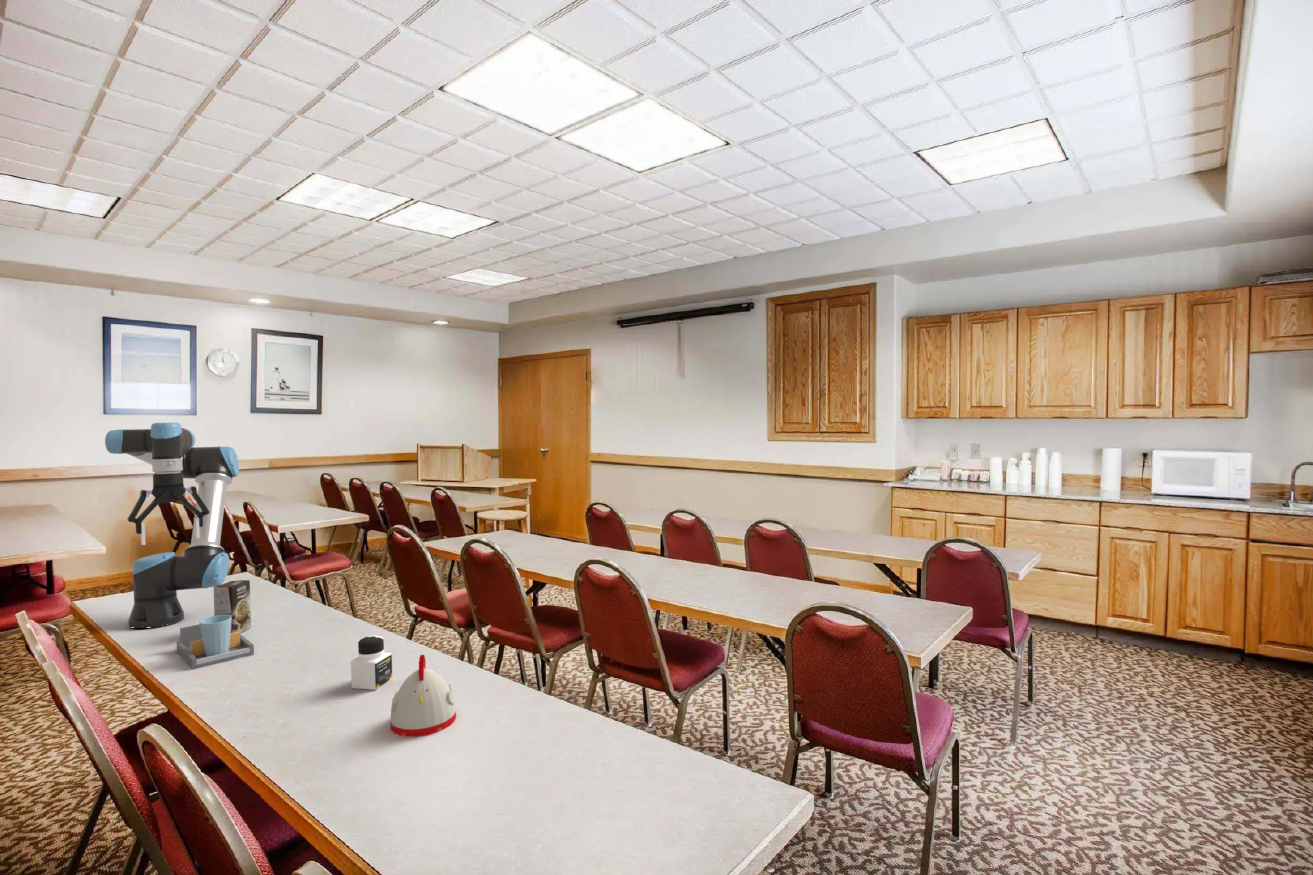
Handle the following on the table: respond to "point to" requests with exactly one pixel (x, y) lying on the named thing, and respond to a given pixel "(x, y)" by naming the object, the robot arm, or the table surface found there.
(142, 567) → the robot arm
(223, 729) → the table surface
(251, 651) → the grey open rectangular box
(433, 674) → the kitchen timer
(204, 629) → the cup
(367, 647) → the medicine bottle
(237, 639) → the pusher
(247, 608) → the coffee box
